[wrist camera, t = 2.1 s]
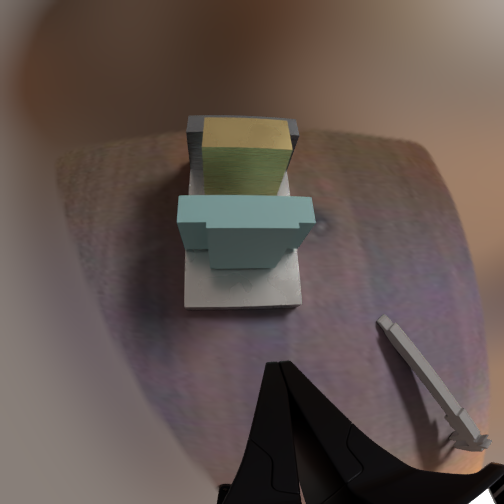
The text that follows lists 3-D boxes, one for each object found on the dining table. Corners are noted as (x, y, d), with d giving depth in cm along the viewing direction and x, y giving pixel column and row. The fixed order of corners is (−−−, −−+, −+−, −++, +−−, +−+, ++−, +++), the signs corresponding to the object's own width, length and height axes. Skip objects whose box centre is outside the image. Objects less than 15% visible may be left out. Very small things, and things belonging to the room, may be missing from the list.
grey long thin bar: (457, 440, 19) (495, 446, 13) (452, 447, 18) (489, 455, 13) (381, 314, 23) (423, 300, 18) (374, 322, 23) (415, 309, 17)
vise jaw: (299, 267, 22) (333, 228, 15) (184, 268, 21) (168, 228, 14) (294, 226, 23) (322, 176, 16) (186, 226, 22) (174, 173, 15)
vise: (297, 307, 23) (324, 289, 17) (186, 310, 22) (173, 293, 15) (280, 160, 28) (294, 115, 22) (193, 159, 27) (189, 112, 21)
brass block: (274, 201, 24) (292, 149, 18) (205, 201, 23) (201, 147, 17) (271, 174, 25) (287, 120, 19) (206, 173, 24) (204, 117, 18)
